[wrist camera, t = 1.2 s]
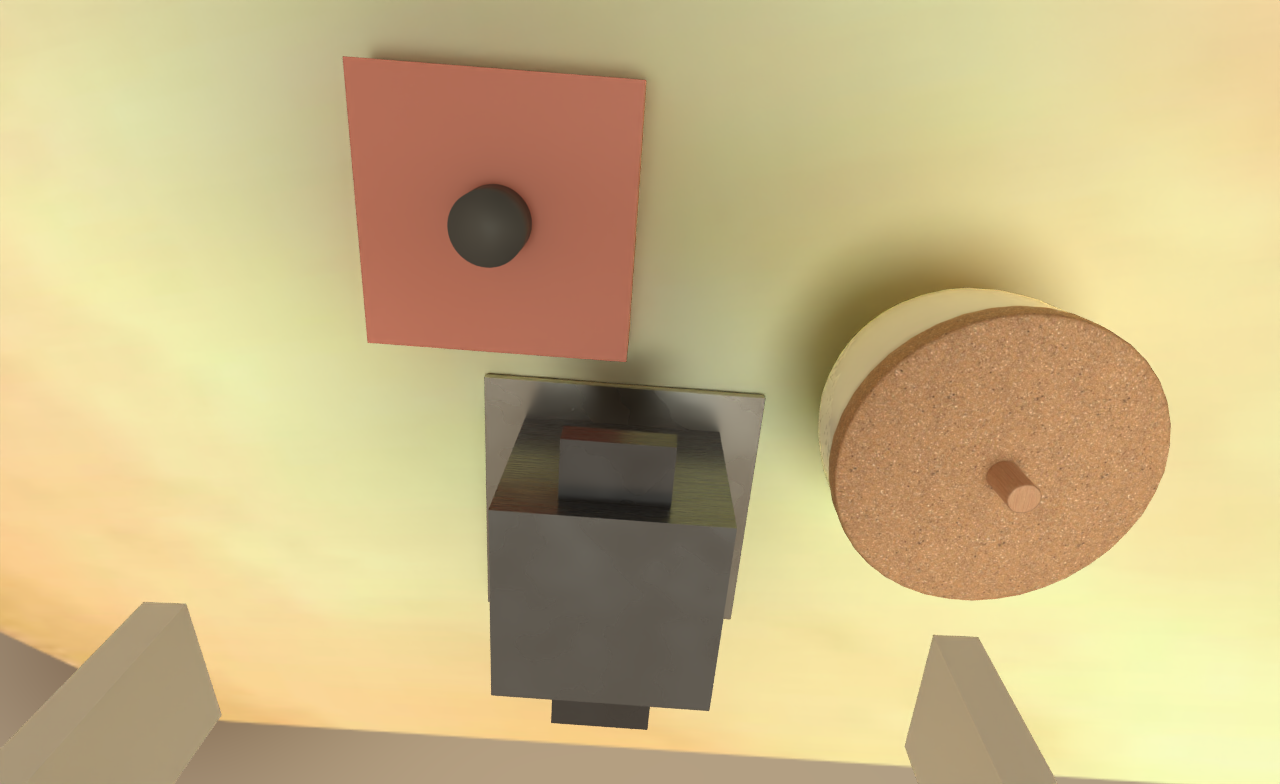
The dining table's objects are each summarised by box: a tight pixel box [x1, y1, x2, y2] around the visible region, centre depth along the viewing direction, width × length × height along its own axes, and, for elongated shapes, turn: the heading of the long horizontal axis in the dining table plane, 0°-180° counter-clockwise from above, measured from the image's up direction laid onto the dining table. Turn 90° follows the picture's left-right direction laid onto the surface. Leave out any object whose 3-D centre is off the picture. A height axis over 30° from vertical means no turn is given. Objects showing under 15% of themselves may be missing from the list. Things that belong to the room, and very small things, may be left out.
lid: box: [343, 56, 647, 362], centre depth 26 cm, size 10×10×5 cm
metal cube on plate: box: [484, 374, 765, 730], centre depth 29 cm, size 13×12×8 cm
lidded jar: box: [819, 288, 1171, 600], centre depth 26 cm, size 11×11×9 cm
